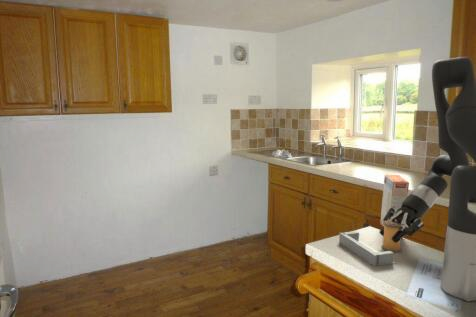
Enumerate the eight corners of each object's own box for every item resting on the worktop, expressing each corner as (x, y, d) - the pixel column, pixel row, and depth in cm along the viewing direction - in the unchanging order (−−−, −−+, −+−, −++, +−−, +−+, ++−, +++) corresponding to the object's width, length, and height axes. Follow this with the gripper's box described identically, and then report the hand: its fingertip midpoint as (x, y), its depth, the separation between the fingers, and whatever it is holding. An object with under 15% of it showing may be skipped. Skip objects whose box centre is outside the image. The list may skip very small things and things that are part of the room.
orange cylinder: (404, 251, 114) (407, 225, 112) (389, 253, 112) (392, 227, 111) (391, 244, 119) (394, 219, 118) (377, 246, 118) (379, 221, 116)
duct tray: (396, 263, 105) (397, 252, 105) (373, 266, 103) (374, 255, 102) (358, 240, 123) (359, 230, 122) (339, 242, 120) (339, 232, 120)
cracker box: (404, 237, 126) (409, 182, 123) (387, 236, 127) (392, 181, 124) (395, 224, 140) (400, 174, 136) (379, 223, 141) (384, 173, 138)
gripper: (398, 188, 122) (367, 223, 120) (431, 199, 108) (396, 239, 106) (409, 202, 124) (378, 236, 122) (443, 214, 110) (409, 253, 109)
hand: (387, 237), depth 114 cm, fingers closed on orange cylinder, 5 cm apart
